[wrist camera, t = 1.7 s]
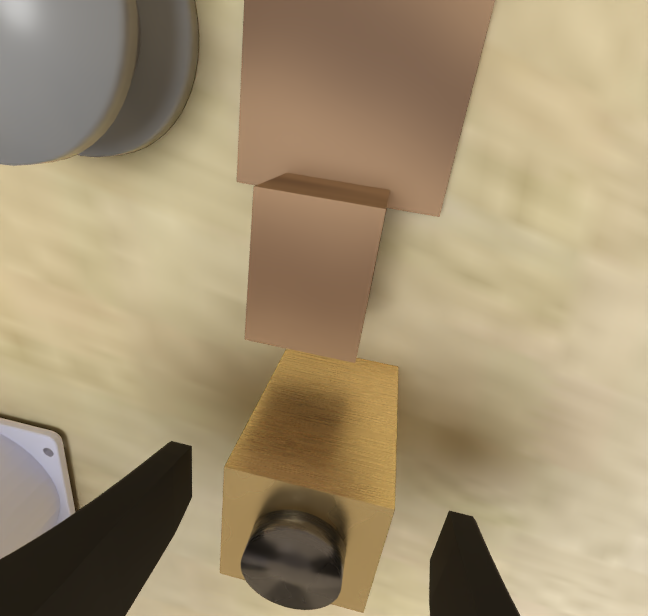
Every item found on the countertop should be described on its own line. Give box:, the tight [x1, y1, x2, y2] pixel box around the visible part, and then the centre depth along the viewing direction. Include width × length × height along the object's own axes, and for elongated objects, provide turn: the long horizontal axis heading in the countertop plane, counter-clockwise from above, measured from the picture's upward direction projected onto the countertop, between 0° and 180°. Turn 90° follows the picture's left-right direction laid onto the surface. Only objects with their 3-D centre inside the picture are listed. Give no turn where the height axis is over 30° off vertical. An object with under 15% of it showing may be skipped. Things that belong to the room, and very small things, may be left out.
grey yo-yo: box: [0, 0, 199, 166], centre depth 10 cm, size 7×7×4 cm
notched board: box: [237, 0, 495, 363], centre depth 9 cm, size 14×6×4 cm, turn 172°
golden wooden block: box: [220, 349, 398, 613], centre depth 13 cm, size 4×4×7 cm
